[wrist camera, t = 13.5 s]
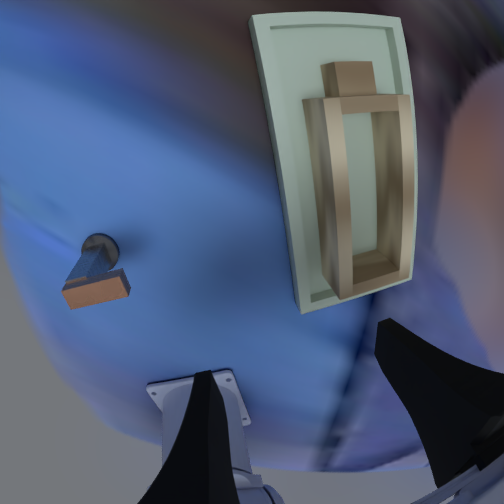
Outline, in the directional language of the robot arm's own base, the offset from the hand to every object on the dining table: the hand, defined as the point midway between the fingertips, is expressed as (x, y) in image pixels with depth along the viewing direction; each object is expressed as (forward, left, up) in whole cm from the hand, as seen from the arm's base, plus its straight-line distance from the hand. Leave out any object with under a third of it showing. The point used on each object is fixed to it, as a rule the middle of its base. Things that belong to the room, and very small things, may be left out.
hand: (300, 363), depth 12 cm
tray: (+5, -7, -10) cm, 13 cm away
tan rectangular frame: (+5, -7, -9) cm, 12 cm away
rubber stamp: (+3, +10, -10) cm, 14 cm away
